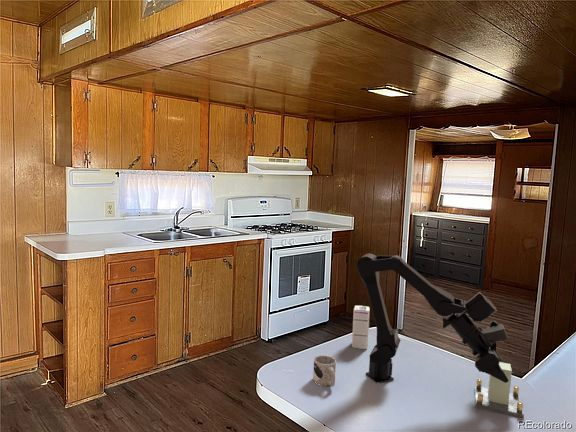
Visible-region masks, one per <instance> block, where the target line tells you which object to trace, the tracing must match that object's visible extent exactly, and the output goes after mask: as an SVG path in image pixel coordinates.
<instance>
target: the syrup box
mask: <svg viewBox="0 0 576 432" xmlns="http://www.w3.org/2000/svg"><path fill="white" fill-rule="evenodd" d="M352 314H353V316H352V318H353V319H352V338H351V339H352V341H351V347H352V348H354V349H360V350H368V346H369V333H370V331H369V330H370V306H368V305H367V306H366V305H354V308H353V313H352Z"/></svg>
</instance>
